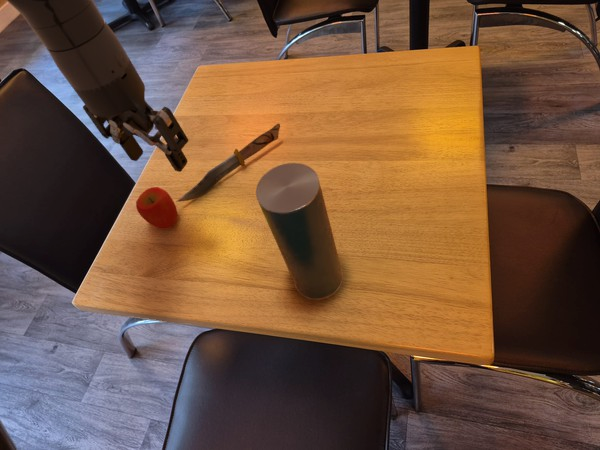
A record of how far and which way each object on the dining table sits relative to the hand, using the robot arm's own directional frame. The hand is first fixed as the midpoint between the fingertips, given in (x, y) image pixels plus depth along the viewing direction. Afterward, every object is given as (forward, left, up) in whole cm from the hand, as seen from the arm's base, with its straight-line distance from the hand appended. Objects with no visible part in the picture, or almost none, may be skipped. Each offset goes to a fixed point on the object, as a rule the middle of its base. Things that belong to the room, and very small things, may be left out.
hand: (159, 161), depth 65 cm
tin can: (-3, -24, -18) cm, 30 cm away
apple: (-1, +8, -18) cm, 20 cm away
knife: (+13, +1, -18) cm, 22 cm away
